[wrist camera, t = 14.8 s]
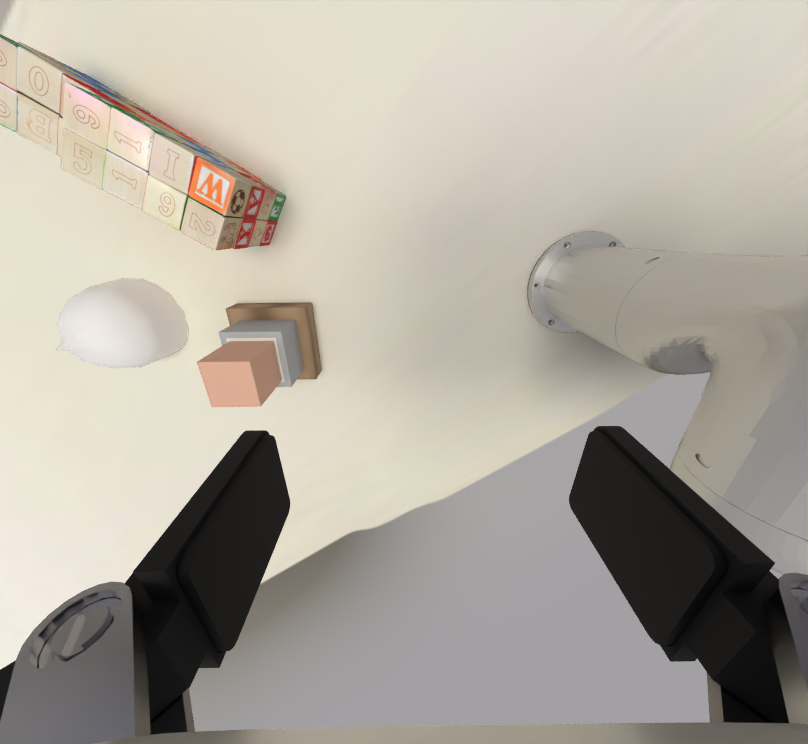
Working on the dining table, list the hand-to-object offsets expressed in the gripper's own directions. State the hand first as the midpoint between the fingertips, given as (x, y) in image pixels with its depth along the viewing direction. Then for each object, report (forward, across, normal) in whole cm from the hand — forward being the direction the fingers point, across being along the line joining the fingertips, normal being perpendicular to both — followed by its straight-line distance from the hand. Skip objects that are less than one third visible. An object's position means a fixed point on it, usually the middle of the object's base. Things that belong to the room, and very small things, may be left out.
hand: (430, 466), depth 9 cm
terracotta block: (+25, +18, +7) cm, 32 cm away
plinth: (+33, +18, +7) cm, 38 cm away
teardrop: (+34, +36, +4) cm, 49 cm away
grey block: (+30, +18, +7) cm, 36 cm away
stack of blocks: (+34, +25, -13) cm, 44 cm away
